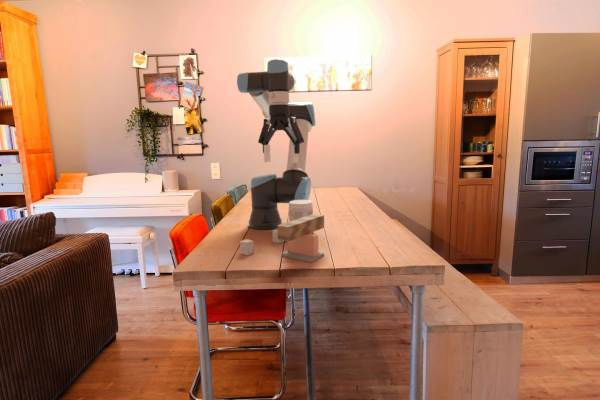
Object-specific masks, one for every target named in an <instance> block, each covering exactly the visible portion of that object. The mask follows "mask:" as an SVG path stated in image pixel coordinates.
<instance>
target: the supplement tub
mask: <svg viewBox="0 0 600 400" xmlns="http://www.w3.org/2000/svg"><path fill="white" fill-rule="evenodd" d="M313 207H314V206H313V200H310V199H308V200H293V201H290V202H289V203H288V220H289V221H288V222H290V221H293V220H296V219H299V218H302V217H305V216H308V215H312V214H314V209H313ZM314 232H315V231H314ZM314 232H312V234H315V233H314Z"/></svg>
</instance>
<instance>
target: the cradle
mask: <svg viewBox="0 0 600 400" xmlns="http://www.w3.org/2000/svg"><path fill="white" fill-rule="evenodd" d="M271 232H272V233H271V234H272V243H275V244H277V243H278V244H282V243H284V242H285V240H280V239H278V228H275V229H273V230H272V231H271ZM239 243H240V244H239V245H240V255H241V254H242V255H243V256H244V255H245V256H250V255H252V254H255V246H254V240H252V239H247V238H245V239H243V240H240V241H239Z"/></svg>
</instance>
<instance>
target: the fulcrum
mask: <svg viewBox="0 0 600 400" xmlns="http://www.w3.org/2000/svg"><path fill="white" fill-rule="evenodd" d="M324 256H325V252H322V251H321V252H320V251H319V234H318V233H317V234H316V233H313V234H312V233H309V234H307V235H304V236H301V237H299V238H296V239H294V240H291V241H287V250H286V251H283V252H281V257H285V258H289V259H294V260H299V261H302V262H307V263H310V264H311V263H313V262H315V261H316V260H318V259H321V258H322V257H324Z"/></svg>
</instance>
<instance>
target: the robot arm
mask: <svg viewBox="0 0 600 400" xmlns="http://www.w3.org/2000/svg"><path fill="white" fill-rule="evenodd" d="M295 82H296V80H295V77H294V75H293V74H292V73H291V72H289V62H288V61H287V60H286V59H282V58H281V59H279V58H278V59H271V60H269V61H267V69H266V71H257V72H256V71H255V72H254V71H253V72H243V73H242V72H241V73H239V74H238V75H237V77H236V86H237V88H238V91H239V92H240V93H241V94H243V93H245V94H249V95H250V96H251V98H252V99H253V100H254V102H255V103H256V104H257V106H258V107H259V108H260V110H261V113H262V115H263V117H264V119H263V124H262V129H261V131H260V135H259V138H258V141H257V143H258V144H261V145H262V153H263V160H264V163H271V162H272V161H271V145H270V141H271V140H272V138H273V136H274V135H275V133H276V132H277V131H284V132H285V134H286V135H287V137H288V138H289V144H288V152H287V162H286V170H285V171H283V173H282V177H277V174H276V173H270V174H269V173H268V174H264V175H258V176H255V177H252V178H251V180H250V192H251V193H250V195H251V212H250V216H249V217H250V218H249V220H248V227H249V228H250V229H254V230H271V229H278V228H277V225H280V224H283V223H282V222H283V220H282V218H281V215H280V212H279V209H278V204H289V202H290V201H293V200H310V195H311V190H312V189H311V186H312V180H311V177H309V175H308V173H307V172H306V162H307V151H308V140H309V132H311V130H312V128H313V127H315V126H316V117H315V107H314V104H313V103H312V102H310V101H309V102H308V101H304V102H290V91H292V90H293V89H294V87H295V84H296V83H295Z"/></svg>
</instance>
